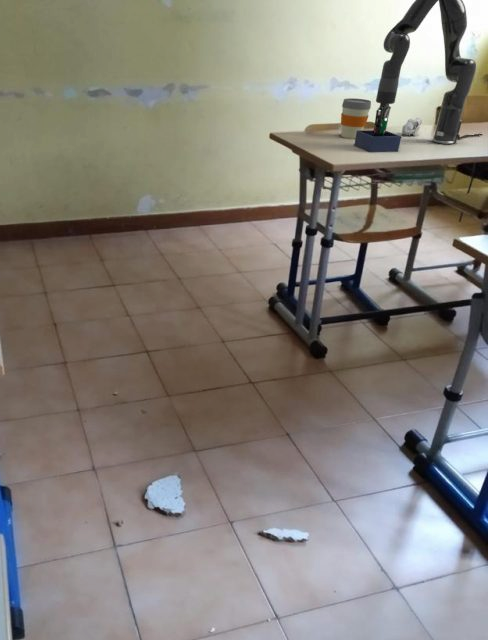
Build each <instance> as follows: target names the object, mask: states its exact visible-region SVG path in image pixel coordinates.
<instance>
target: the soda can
mask: <svg viewBox="0 0 488 640" xmlns="http://www.w3.org/2000/svg"><path fill="white" fill-rule="evenodd" d="M382 118H383V117H382ZM387 118H388V119H387ZM378 122H380V120H378ZM388 122H389V117H387V116H386V117H385V120H384V121H383V124H382V127H381V132H380V136H375V135H374V134H375V128H376V125H375V123H374V124H373V129H372V130H373V135H372V136H373V137H382V136H385V132H386V131H387V126H388Z"/></svg>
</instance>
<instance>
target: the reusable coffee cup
mask: <svg viewBox="0 0 488 640" xmlns="http://www.w3.org/2000/svg"><path fill="white" fill-rule="evenodd" d="M341 107H342V112H341V114H340V125H341V130H340V136H341V138H345V139H351V140H355V139H356V133H357V131H363V130H364V129H365V127H366V126H367V123H368V118H369V113H370V109H371V107H372V101H371V100H369V99H363V98H344V99H343V100H342V105H341Z"/></svg>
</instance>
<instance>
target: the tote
mask: <svg viewBox="0 0 488 640" xmlns="http://www.w3.org/2000/svg"><path fill="white" fill-rule="evenodd" d="M373 130H374V129H371V130H370V129H368V130H364V129H363V131H357V133H356V139H354V145H353V146H356V147H358V149H362V150H364V151H366V152H368V153H392V152H399V151H400V150H399V149H400V144H401V140H402V136H401V135H399V134H396V133H394V132H391V131H389V130H388V131H387V130H386V132H385V136H382V137H373V136H372V135H373Z"/></svg>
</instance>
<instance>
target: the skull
mask: <svg viewBox="0 0 488 640" xmlns="http://www.w3.org/2000/svg"><path fill="white" fill-rule="evenodd" d="M422 124H423V120H422V119H421V118H420V117H416V118H414V119H412V118H409V119H408V120H407V121H406V123H405V124H403V126H402V129H401V133H402V135H403V136H406V137H407V136H409V137H410V136H411V135H413V136H414V137H415V136H418V133H419V131H420V128H421V125H422Z"/></svg>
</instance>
